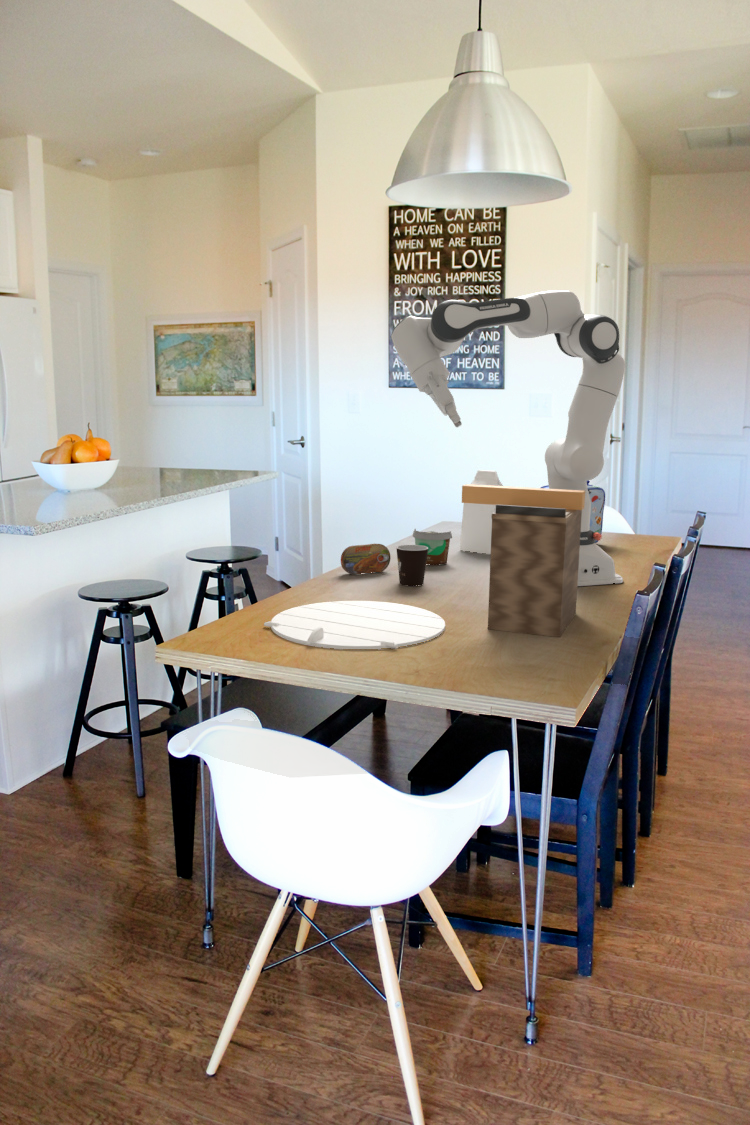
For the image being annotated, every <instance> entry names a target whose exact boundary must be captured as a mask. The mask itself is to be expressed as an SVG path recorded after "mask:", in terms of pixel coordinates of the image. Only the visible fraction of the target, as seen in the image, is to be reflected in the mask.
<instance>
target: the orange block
mask: <svg viewBox="0 0 750 1125" xmlns="http://www.w3.org/2000/svg"><path fill="white" fill-rule="evenodd" d="M461 503H462V504H464V503H474V504H490V505H497V504H498V505H514V506H530V507H546V508H563V509H571V510H582V509H584V505H585V491H583V490H565V489H547V488H541V487H526V486H525V487H524V486H509V485H506V486H505V485H503V486H492V485H473V484H471V483H466V484H463V485H462V486H461Z"/></svg>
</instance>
